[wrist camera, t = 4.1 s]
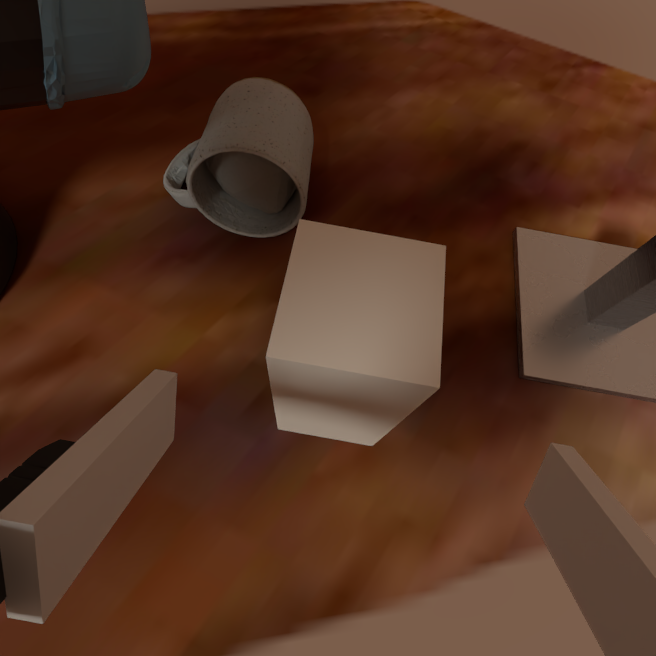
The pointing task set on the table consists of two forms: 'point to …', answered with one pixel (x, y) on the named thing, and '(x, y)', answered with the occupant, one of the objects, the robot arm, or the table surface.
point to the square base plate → (586, 313)
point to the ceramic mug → (248, 161)
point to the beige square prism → (356, 332)
